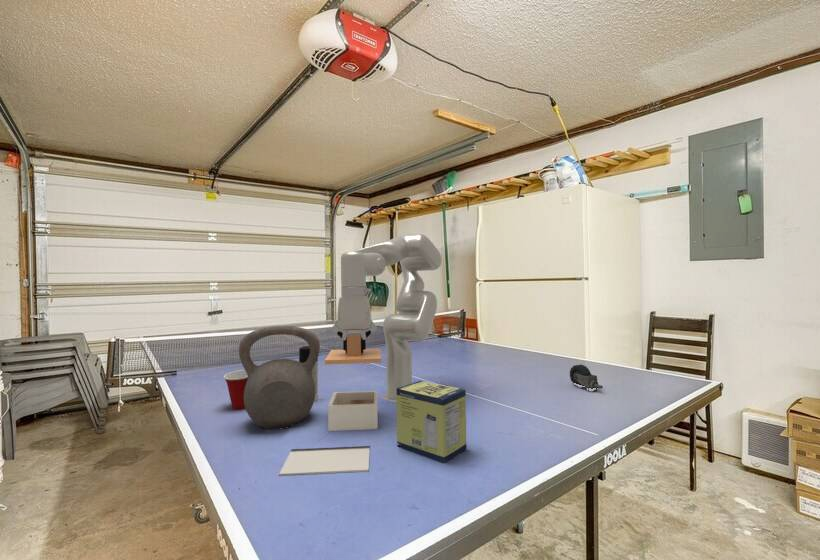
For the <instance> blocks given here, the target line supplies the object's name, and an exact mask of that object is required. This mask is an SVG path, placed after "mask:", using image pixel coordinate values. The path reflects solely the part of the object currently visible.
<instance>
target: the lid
mask: <svg viewBox="0 0 820 560" xmlns="http://www.w3.org/2000/svg"><path fill="white" fill-rule="evenodd" d="M361 337H362V335H361V332H348V333H347V354H346V351H345V350H343V349H331V350H330V351H329V353H328V354H327V355H326V358H324V365H347V364H352V365H353V364H377V363H378V364H379V363H382V348H366V350H364V351H363V353H361Z"/></svg>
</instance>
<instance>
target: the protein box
mask: <svg viewBox="0 0 820 560" xmlns="http://www.w3.org/2000/svg"><path fill="white" fill-rule="evenodd" d="M396 389H397V402H396V444H397V445H396V446H397V448H400V449H402V450H406V451H408V452H412V453H414V454H417V455H419V456H423V457H424V458H425V457H426V458H427V459H431V460H434V461H437V462H439V463H442V464H446V462H448V461H450V460H451V459H453V458H455V457H456V456H458V455H459V454H460V453H462V452H464V451H465V450H467V448H468V446H467V445H468V444H467V409H466V408H467V407H466V405H467V404H466V403H467V400H466V395H467V394H466V389H465V388H459V387H456V386H454V387H453V386H448V385H443V384H439V383H433V382H428V381H424V380H419V381H415V382H412V384H409V385H406V386H403V387H399V388H396Z"/></svg>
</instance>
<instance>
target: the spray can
mask: <svg viewBox="0 0 820 560" xmlns="http://www.w3.org/2000/svg"><path fill="white" fill-rule="evenodd" d="M309 354H310V346H309V345H305V346H301V347H300V348H299V350H298V355H299V356H298V358H299V359H298V362H300V363H304V362H306V361H307V359H308V357H309ZM312 376H313V379H314V383H315V398H314V402H318V401H319V357H318V358H317V361H316V363H315V365H314V367H313V370H312Z"/></svg>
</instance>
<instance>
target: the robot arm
mask: <svg viewBox="0 0 820 560" xmlns="http://www.w3.org/2000/svg"><path fill="white" fill-rule="evenodd" d="M399 262H400V263H399ZM397 263H399V264H400V268H401V271H402V272H401V273H402V276H403V283H402V286H401V288H400V291H399V294H398V295H397V296H398V297H397V299H396V302H395V310H396V312H397V313H391V314H389V315H387V316H386V317H385V318H384V319H383V324H382V326H383V335H384V338H385V339H384V340H385V350H386V351H385V352H386V353H385V355H386V357H385V364H386V368H385V369H386V370H385V371H386V377H385V378H386V381H385V382H386V384H385V385H386V393H383V395H381V397H382V400H385V401H387V402H393V403H394V402H395V403H397V389H396V388H399V387H403V386H406V385H409V384H412V383H413V353H412V352H413V351H412V348H411V345H410V343H409V342H408V341H419V342H422V341H425V340H426V339H427V338H428V336H429V335H430V332H431V329H432V326H433V322H434V321H435V320H434V319H435V317H436V313H437V310H438V299H437V297H436V294H435V293H434V292H432V291H429V290H425V282H424V280H423V278H422V277H421V276H420V274H419V273H418V271H419V272H422V271H423V272H424V271H436V270H438V269H439V268H441V265H442V255H441V253H440V251H439V250H438V248H437V246H436V245H435V244H434V243H433V242H432V241H431V239H430V238H429V237H427V235H425V234H422V233H413V234H401V235H398V236H396V237H393V238H392V239H389V240H387V241H385V242H381V243H380V242H379V243H377V244H374V245H371V246H367V247H363V248H360V249H357V250H354V251H349V252H348V251H347V252H344V253H342V254H341V256H340V286H341V287H340V290H341V292H340V294H341V295H340V296H339V297H338V301H337V303H338V304H337V316H336V317H337V318H336V319H337V320H336V321H335V322H334V325H333V326H332V327H331V329H330V331H331V332H333V333H334V334H336V335H337V336H338V337H339V338H340V339H341V340H342V345H343V346H342V348H343V349H342V350H345V351H346V354H347V335H348V333H349V332H348V331H360V333H361V335H362V337H361V353H363V351H364V350H366V349H367V346H366V345H367V344H366V343H367V341H366V340H367V338H368V337H370V335H371V334H372V333H374V332H375V331H377V329H378V327H377V325H376V324H375V322H374V321H373V320H372V316H371V315H372V313H371V303H370V298H369V296H367V294H371V293H372V291H371V288H368V287H367V283H366V282H367V278H366V277H377V276H379V275H382V274H383V273H384V271H385V270H386V267H388V266H389V267H391V266H394V265H395V264H397ZM366 330H367V331H366Z"/></svg>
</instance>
